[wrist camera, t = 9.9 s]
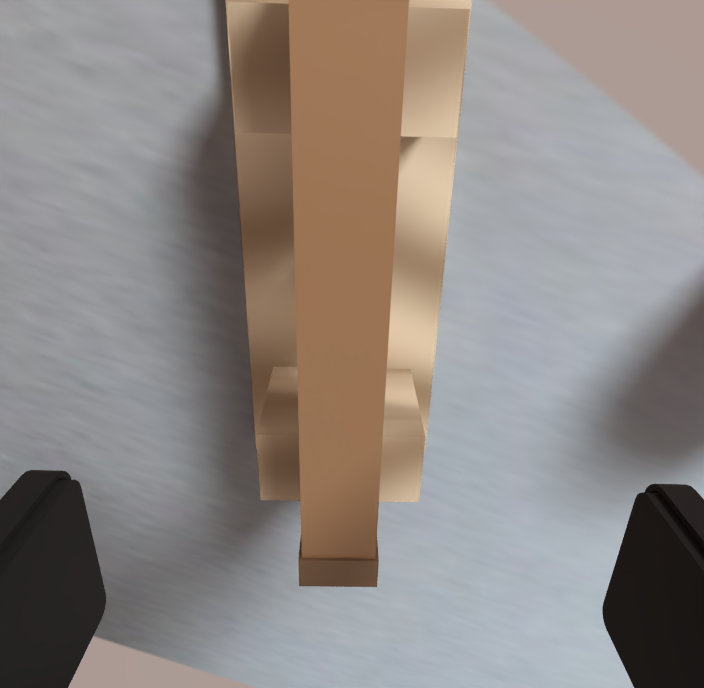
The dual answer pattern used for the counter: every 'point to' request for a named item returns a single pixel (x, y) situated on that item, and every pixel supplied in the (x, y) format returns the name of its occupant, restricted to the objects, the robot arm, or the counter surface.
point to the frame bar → (343, 269)
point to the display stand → (409, 246)
